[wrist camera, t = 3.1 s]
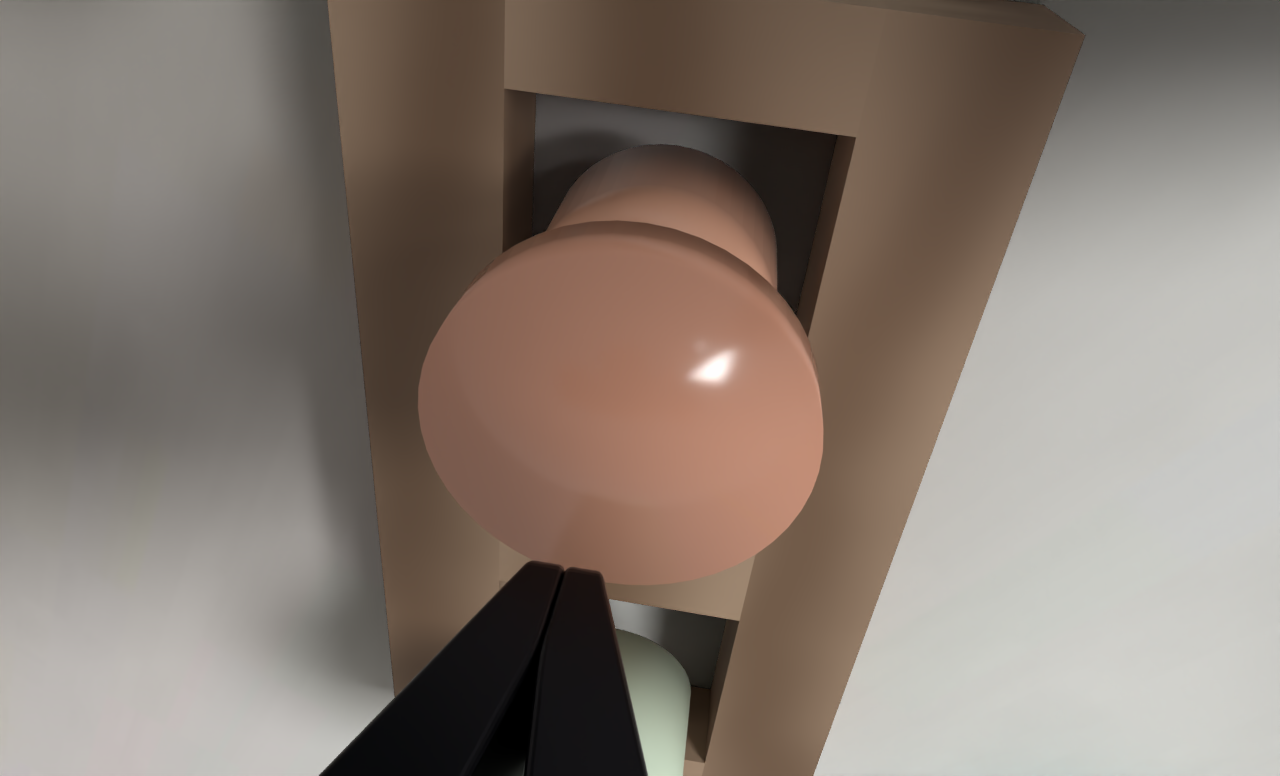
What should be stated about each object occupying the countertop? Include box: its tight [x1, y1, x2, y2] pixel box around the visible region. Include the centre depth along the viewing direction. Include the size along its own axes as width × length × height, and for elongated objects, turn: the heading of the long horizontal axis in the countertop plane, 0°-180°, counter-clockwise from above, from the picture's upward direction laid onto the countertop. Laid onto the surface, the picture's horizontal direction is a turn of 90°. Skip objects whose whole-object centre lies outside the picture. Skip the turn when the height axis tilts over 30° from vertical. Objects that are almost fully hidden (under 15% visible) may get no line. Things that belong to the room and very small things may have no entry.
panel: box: [327, 0, 1085, 776], centre depth 21 cm, size 12×22×2 cm, turn 174°
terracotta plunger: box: [418, 144, 823, 585], centre depth 14 cm, size 6×6×6 cm
